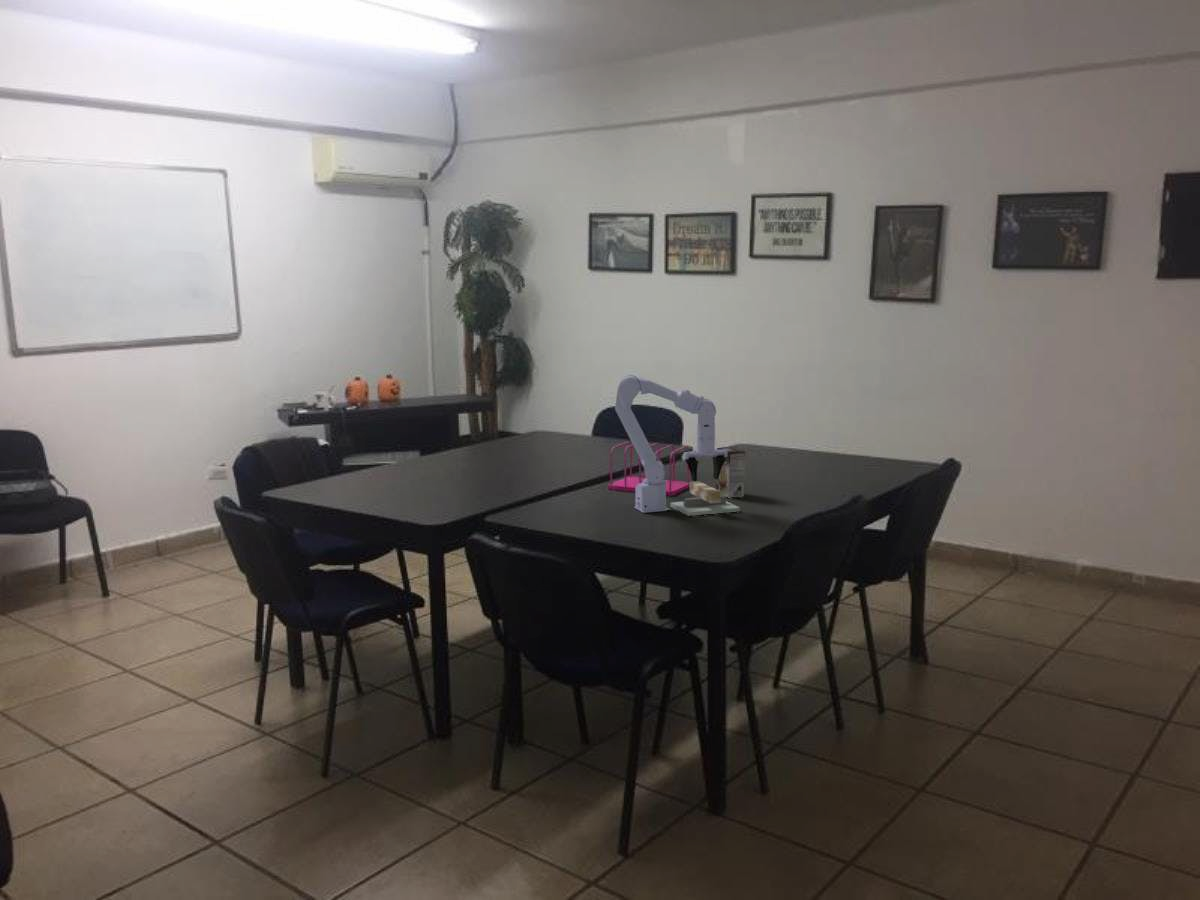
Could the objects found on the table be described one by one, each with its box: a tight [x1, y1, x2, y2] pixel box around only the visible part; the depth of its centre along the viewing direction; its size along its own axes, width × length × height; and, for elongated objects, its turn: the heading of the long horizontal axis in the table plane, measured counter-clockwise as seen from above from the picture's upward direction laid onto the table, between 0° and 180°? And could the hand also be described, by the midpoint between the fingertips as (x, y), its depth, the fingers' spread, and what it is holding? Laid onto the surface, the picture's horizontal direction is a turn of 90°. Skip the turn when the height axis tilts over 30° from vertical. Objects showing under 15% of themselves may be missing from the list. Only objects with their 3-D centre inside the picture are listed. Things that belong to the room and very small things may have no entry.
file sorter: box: [607, 441, 691, 497], centre depth 341 cm, size 17×25×16 cm
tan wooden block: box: [689, 481, 721, 503], centre depth 309 cm, size 16×4×4 cm, turn 19°
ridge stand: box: [669, 495, 741, 516], centre depth 310 cm, size 18×14×4 cm
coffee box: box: [715, 446, 746, 499], centre depth 329 cm, size 9×6×16 cm
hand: (705, 479), depth 308 cm, fingers open, 7 cm apart
